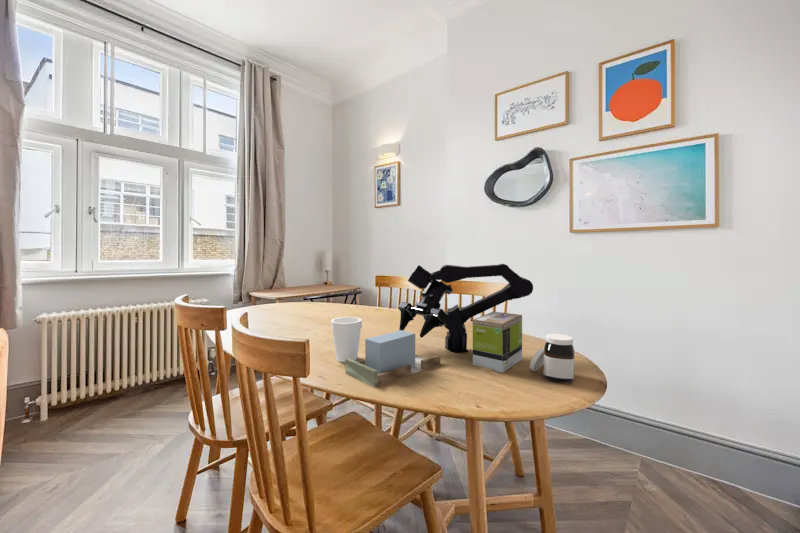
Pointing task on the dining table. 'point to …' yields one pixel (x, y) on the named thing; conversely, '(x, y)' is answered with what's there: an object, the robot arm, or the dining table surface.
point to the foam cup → (346, 337)
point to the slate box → (390, 351)
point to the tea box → (497, 340)
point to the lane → (374, 379)
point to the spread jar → (556, 358)
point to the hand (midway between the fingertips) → (410, 334)
